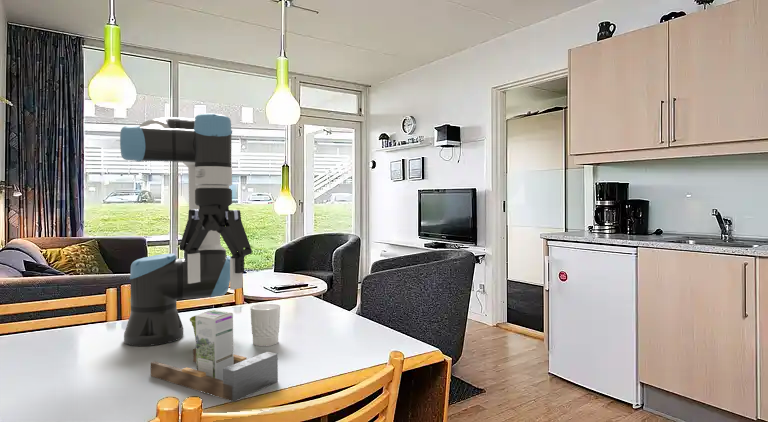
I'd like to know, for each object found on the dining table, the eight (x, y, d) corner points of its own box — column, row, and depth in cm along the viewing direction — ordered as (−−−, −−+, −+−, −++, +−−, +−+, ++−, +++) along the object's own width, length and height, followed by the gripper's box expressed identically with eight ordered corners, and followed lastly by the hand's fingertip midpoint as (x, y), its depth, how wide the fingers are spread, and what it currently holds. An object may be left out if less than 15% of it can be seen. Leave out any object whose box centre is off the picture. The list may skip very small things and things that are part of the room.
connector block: (223, 398, 94) (223, 368, 94) (267, 378, 104) (267, 351, 104) (233, 401, 92) (233, 371, 92) (277, 381, 103) (277, 353, 103)
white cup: (272, 348, 126) (272, 310, 126) (245, 346, 128) (245, 309, 127) (285, 339, 134) (284, 303, 133) (258, 338, 135) (258, 302, 135)
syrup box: (235, 377, 105) (234, 311, 105) (214, 386, 100) (213, 317, 100) (216, 372, 108) (215, 308, 108) (195, 381, 103) (194, 314, 102)
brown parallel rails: (150, 376, 106) (150, 360, 106) (197, 360, 116) (197, 345, 116) (231, 401, 93) (231, 383, 93) (276, 380, 103) (276, 364, 103)
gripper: (161, 187, 106) (163, 282, 107) (240, 186, 93) (241, 294, 94) (191, 188, 113) (192, 278, 113) (268, 187, 100) (269, 288, 100)
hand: (214, 285), depth 104 cm, fingers open, 13 cm apart
